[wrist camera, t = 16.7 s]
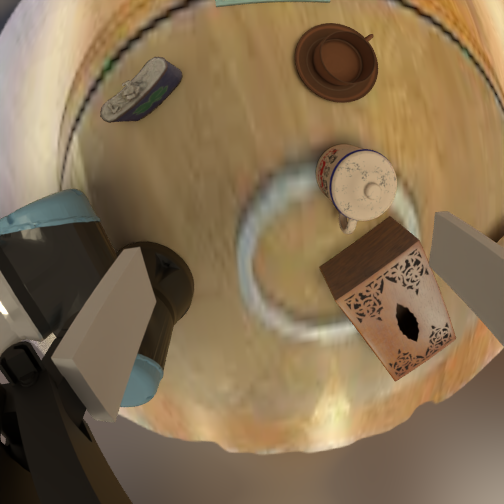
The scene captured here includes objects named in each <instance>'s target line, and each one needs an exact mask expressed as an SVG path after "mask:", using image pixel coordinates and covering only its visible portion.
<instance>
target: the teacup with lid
mask: <svg viewBox="0 0 504 504" xmlns="http://www.w3.org/2000/svg"><path fill="white" fill-rule="evenodd" d="M316 179H317V183H318V186H319V187H320V189H321V191H322V192H323V193H324V194H325V195H326V196H327V197H328V198H329V199H330V200H331V201H332V202H333V204H334V205H335V207H336V208H337V210H338V211H339V225H340V228H341V230H342V232H343V233H345V234H351V233H352V232H353V231H354V230H355V228H356V224H357V221H368V220H372V219H375V218H377V217H379V216H380V215H382V214H383V213H384V212H385V211H386V210H387V209H388V208H389V207H390V205H391V204H392V202H393V200H394V198H395V195H396V190H397V178H396V174H395V171H394V169H393V167H392V165H391V163H390V162H389V161H388V159H387V158H386V157H384V156H383V155H382V154H380V153H378V152H376V151H373V150H368V149H361V148H358V147H355V146H352V145H348V144H340V145H336V146H333V147H331V148H329V149H328V150H327V151H325V152H324V153H323V155H322V156H321V157H320V159H319V161H318V163H317V167H316ZM347 218H349V219H348V222H347Z"/></svg>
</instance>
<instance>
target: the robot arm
mask: <svg viewBox="0 0 504 504" xmlns="http://www.w3.org/2000/svg"><path fill="white" fill-rule="evenodd" d="M100 221H101V220H100V218H99V217H97V216H96V214H95V212H94V211H93V209H92V207H91V205H90V203H89V201H88V199H87V197H86V196H85V194H84V193H83V192H81V191H80V190H77V189H67V190H63V191H60V192H57V193H54V194H52V195H49V196H47V197H44V198H42V199H39V200H37V201H35V202H32V203H30V204H28V205H26V206H24V207H22V208H20V209H18V210H16V211H15V212H14V213H11V214H9V215H8V216H5V217H3V218H1V219H0V370H1V372H2V373H3V374H4V376H5V377H6V379H7V380H8V381H9V383H7V384H1V383H0V436H1V434H2V435H3V436H4V437H5V438H6V443H5V445H4V444H3V443H2V442H1V438H0V504H133V503H132V502H131V500H130V499H129V497H128V496H127V494H126V493H125V491H124V490H123V488H122V487H121V485H120V483H119V482H118V480H117V478H116V477H115V475H114V473H113V472H112V470H111V468H110V466H109V465H108V463H107V461H106V459H105V457H104V456H103V454H102V452H101V450H100V448H99V446H98V444H97V443H96V440H95V438H94V436H93V434H92V432H91V430H90V428H89V426H88V424H87V423H86V422H85V421H84V419H83V416H84V414H85V411H86V409H87V411H88V412H89V413H90V415H91V416H92V417H93V418H94V420H98V421H107V422H115V421H116V418H117V415H118V411H119V408H120V407H135V406H139V405H142V404H145V403H147V402H148V401H150V400H151V399H152V398H153V397H154V395H155V394H156V392H157V389H158V386H159V382H160V380H161V379H162V378H163V370H164V365H165V361H166V356H167V352H168V348H169V343H170V339H171V335H172V331H173V327H174V325H175V324H176V323H177V322H178V320H180V319H181V318H182V317H183V316H184V315H185V314H186V312H187V311H188V309H189V307H190V305H191V302H192V297H193V293H194V282H193V277H192V274H191V272H190V270H189V268H188V266H187V265H186V263H185V262H184V261H183V260H182V259H181V258H180V257H179V256H178V255H177V254H176V253H175V252H173V251H172V250H170V249H168V248H167V247H165V246H162V245H159V244H156V243H151V242H137V243H133V244H130V245H127V246H125V247H124V248H122V249H121V250H120V251H118V252H117V254H116V253H115V251H114V249H113V247H112V245H111V243H110V241H109V239H108V237H107V235H106V233H105V231H104V229H103V227H102V225H101V223H100ZM429 266H430V267H431V268H432V269H433V270H434V271H435V272H436V273H437V274H438V275H439V276H440V277H441V278H442V279H443V280H444V281H445V282H446V283H447V284H448V285H449V286H450V287H451V288H452V289H453V290H454V291H455V293H456V294H457V295H458V296H459V297H460V298H461V299H462V300H463V301H464V302H465V303H466V304H467V305H468V306H469V307H470V308H471V310H472V311H473V312H474V313H475V314H476V315H477V316H478V317H479V318H480V320H481V321H482V322H483V323H484V324H485V325H486V326H487V327H488V329H489V330H490V331H491V332H492V333H493V334H494V336H495V337H496V338H497V339H498V340H499V342H500V343H501V344H502V345H503V346H504V248H503V247H501V246H500V245H499V244H497V243H496V242H494V241H493V240H491V239H490V238H488V237H487V236H486V235H484V234H483V233H481V232H480V231H478V230H477V229H475V228H473V227H472V226H470V225H469V224H467V223H466V222H464V221H463V220H461V219H459V218H458V217H456V216H454V215H453V214H451V213H450V212H448V211H444V212H435V221H434V230H433V238H432V246H431V253H430V259H429ZM52 332H53V334H54V335H55V336H56V337H57V338H56V339H55V340H54V341H53V343H52V344H51V346H50V347H49V349H48V351H47V352H46V354H45V356H44V357H43V359H42V361H41V360H40V358H39V356H38V355H37V353H36V352H35V350H34V348H33V347H32V345H31V343H29V342H26V341H24V342H20V341H21V340H25V339H27V340H33V341H39V342H42V341H43V340H44V339H46V338H47V337H48V336H49V335H50V334H51V333H52Z"/></svg>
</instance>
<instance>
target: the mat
mask: <svg viewBox="0 0 504 504" xmlns="http://www.w3.org/2000/svg"><path fill="white" fill-rule="evenodd" d="M215 1H216V7H222V6H231V5H240V4H251V3H266V2H326V3H329V2H330V0H225V1H223V0H215Z"/></svg>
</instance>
